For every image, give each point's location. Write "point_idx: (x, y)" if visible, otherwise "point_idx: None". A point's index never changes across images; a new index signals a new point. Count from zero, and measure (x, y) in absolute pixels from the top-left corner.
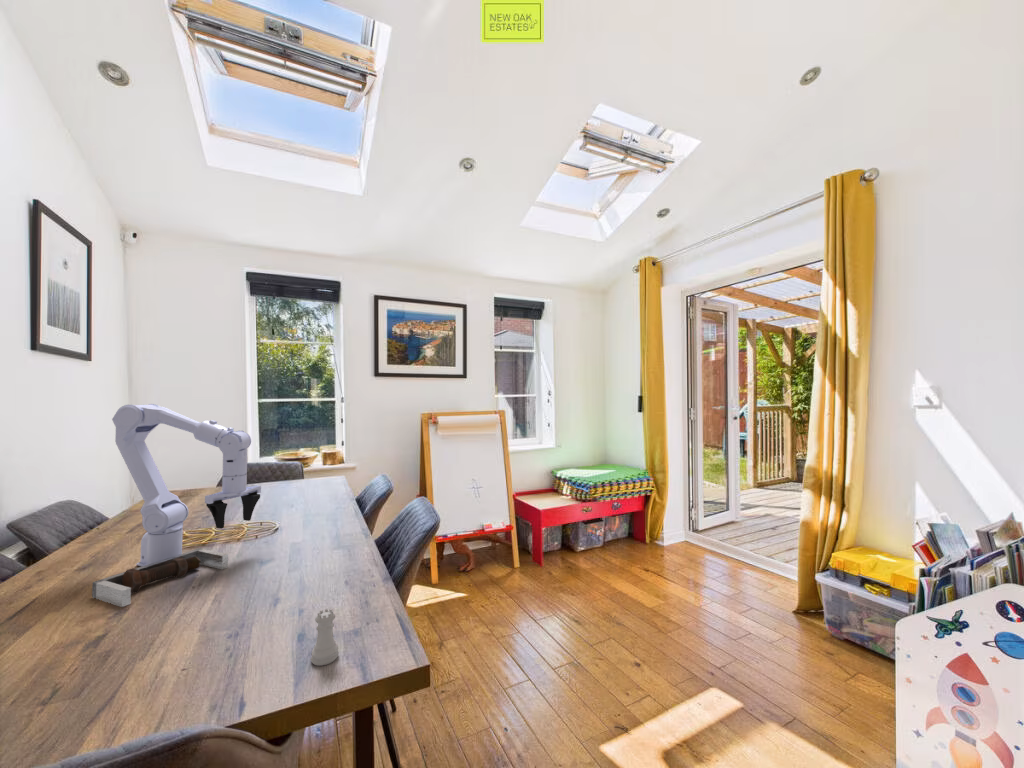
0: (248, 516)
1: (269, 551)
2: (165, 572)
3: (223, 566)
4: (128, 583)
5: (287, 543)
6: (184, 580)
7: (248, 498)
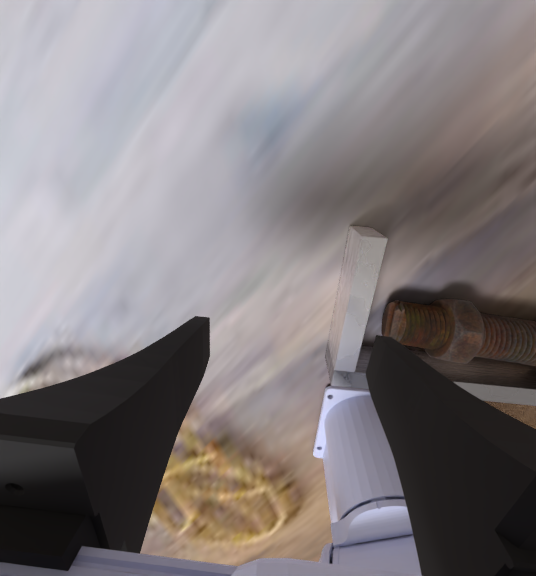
0: (200, 334)
1: (177, 215)
2: (510, 323)
3: (368, 229)
4: None
5: (87, 220)
6: (473, 264)
7: (123, 478)
